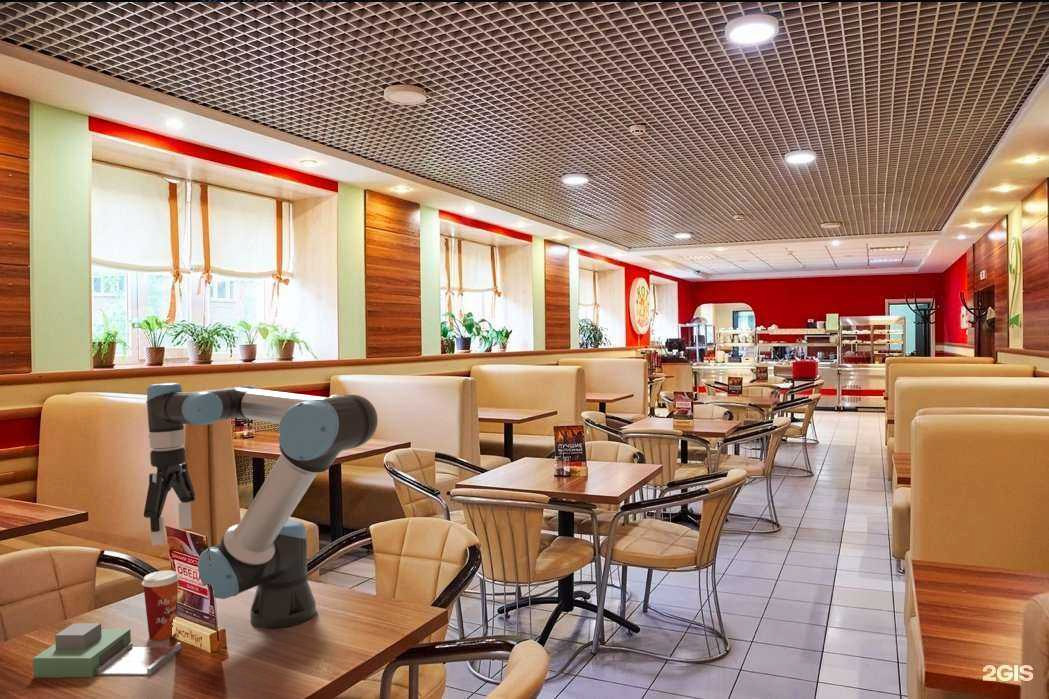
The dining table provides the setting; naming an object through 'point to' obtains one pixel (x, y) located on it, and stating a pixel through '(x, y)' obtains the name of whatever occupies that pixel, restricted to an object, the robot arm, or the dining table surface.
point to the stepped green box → (80, 650)
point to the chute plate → (136, 660)
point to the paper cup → (160, 603)
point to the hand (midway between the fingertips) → (172, 536)
